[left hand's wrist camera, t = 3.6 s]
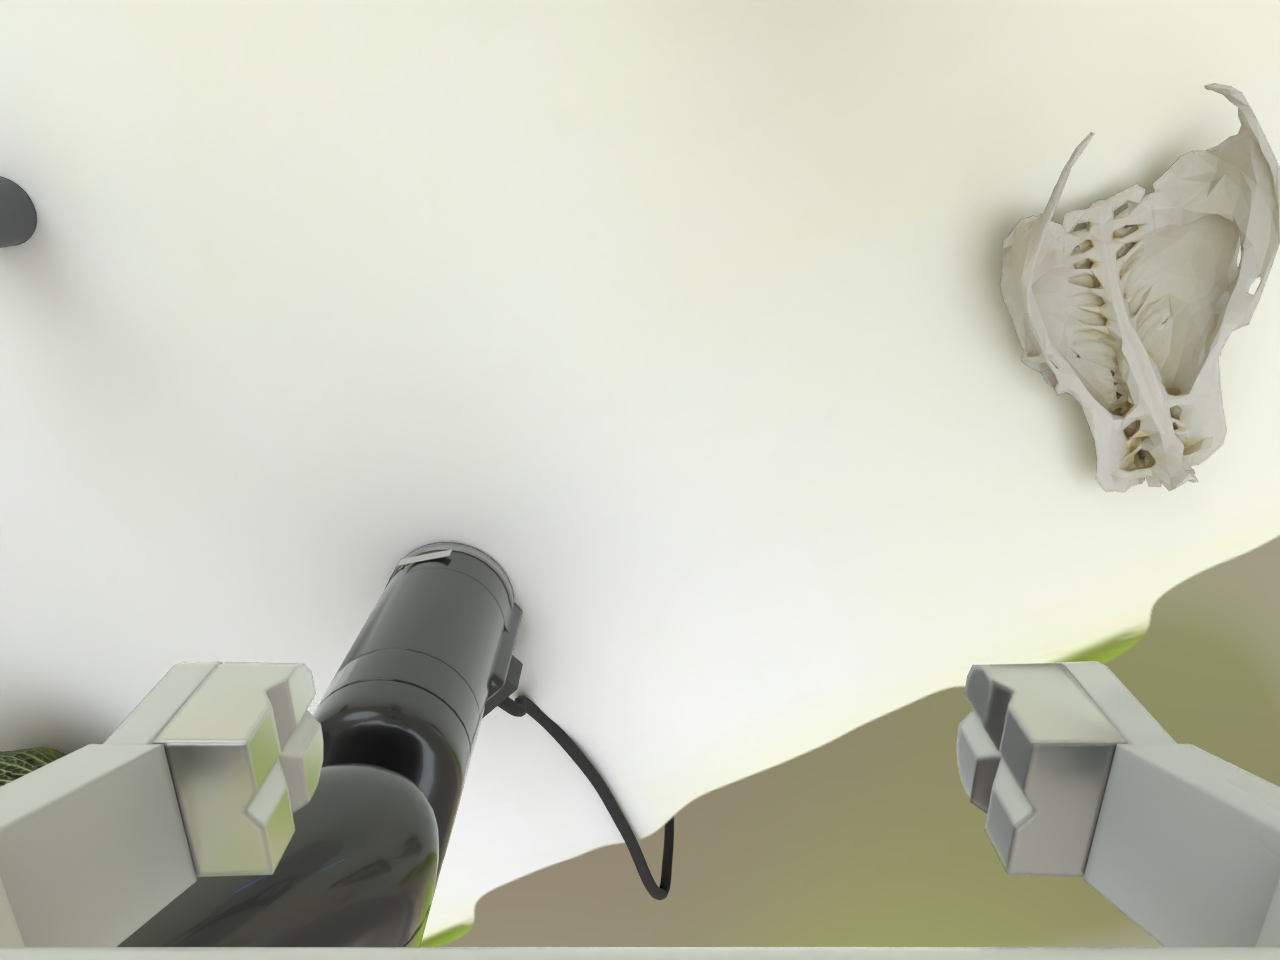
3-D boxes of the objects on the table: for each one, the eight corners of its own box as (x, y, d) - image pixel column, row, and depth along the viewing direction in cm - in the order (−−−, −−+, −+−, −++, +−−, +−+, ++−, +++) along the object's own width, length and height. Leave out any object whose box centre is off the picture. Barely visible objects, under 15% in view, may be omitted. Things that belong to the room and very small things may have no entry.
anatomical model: (1298, 49, 43) (1353, 479, 51) (1191, 69, 52) (1252, 434, 59) (1006, 166, 45) (1101, 562, 53) (950, 166, 54) (1039, 507, 62)
